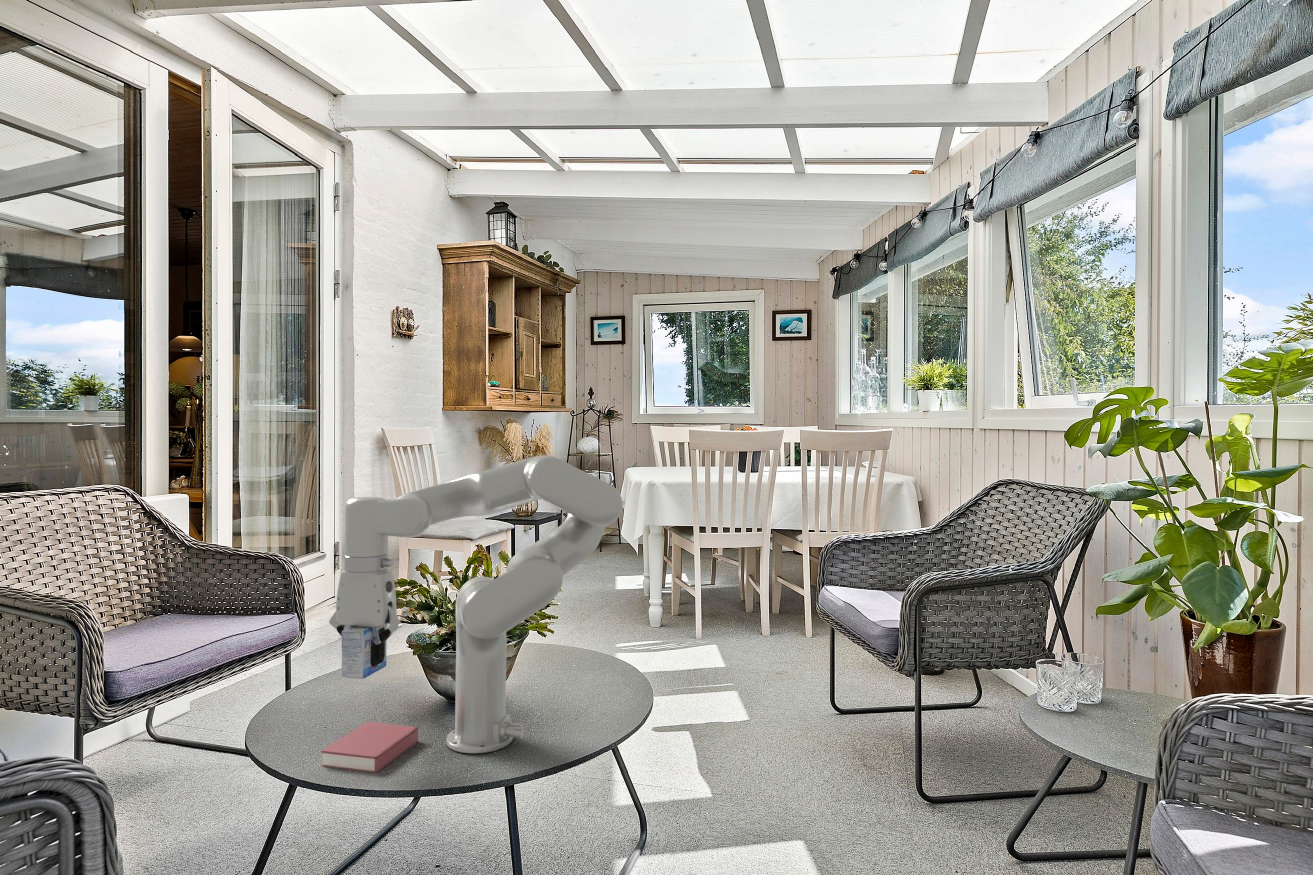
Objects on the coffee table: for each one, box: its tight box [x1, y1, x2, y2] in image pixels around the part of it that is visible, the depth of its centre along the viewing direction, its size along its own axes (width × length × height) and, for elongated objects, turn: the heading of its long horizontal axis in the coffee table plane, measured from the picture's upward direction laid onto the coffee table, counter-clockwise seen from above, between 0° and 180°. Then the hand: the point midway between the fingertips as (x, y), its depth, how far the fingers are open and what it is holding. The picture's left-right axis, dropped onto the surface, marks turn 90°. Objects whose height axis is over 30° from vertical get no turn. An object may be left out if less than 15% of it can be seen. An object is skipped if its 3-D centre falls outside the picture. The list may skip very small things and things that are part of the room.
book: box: [321, 721, 419, 774], centre depth 140 cm, size 11×14×3 cm
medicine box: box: [341, 623, 388, 680], centre depth 139 cm, size 8×4×9 cm, turn 168°
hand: (364, 661), depth 139 cm, fingers closed on medicine box, 4 cm apart
